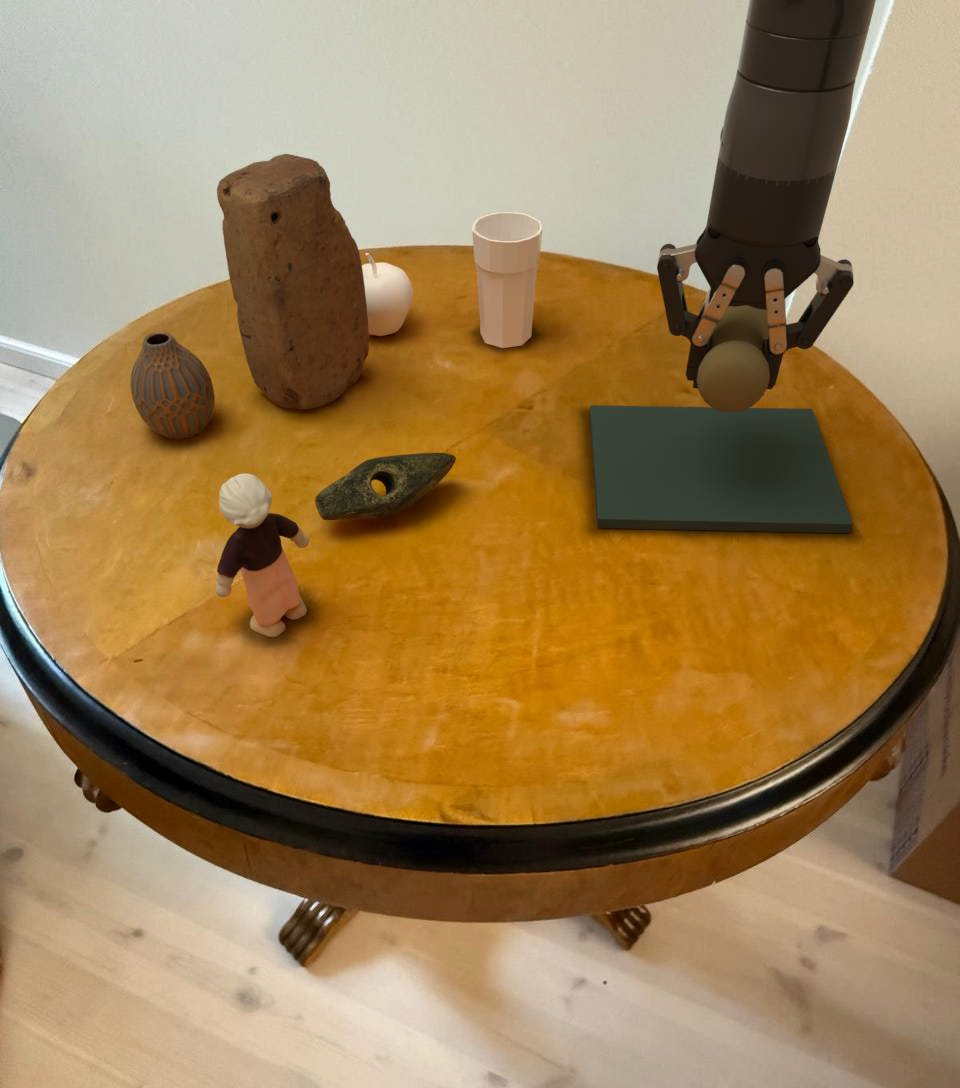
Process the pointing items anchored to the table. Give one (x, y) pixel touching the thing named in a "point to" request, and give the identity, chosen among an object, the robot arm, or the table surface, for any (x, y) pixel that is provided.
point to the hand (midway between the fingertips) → (728, 385)
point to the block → (294, 281)
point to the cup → (506, 275)
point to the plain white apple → (386, 297)
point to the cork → (735, 360)
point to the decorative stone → (400, 478)
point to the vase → (171, 388)
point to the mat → (713, 470)
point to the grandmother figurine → (259, 554)
